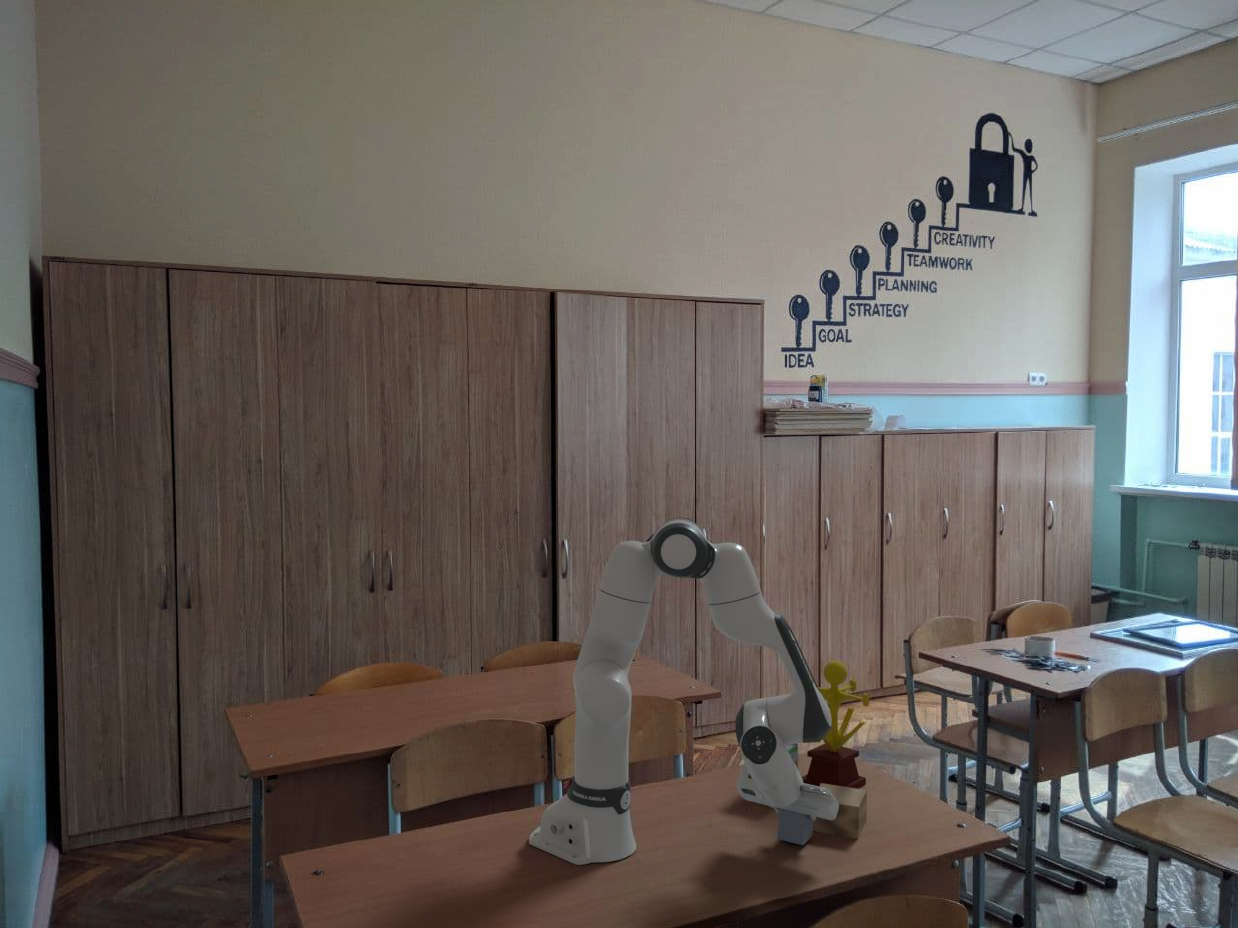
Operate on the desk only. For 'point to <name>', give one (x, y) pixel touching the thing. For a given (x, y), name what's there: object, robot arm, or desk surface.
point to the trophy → (836, 736)
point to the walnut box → (845, 812)
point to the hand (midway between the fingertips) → (796, 813)
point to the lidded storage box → (794, 827)
